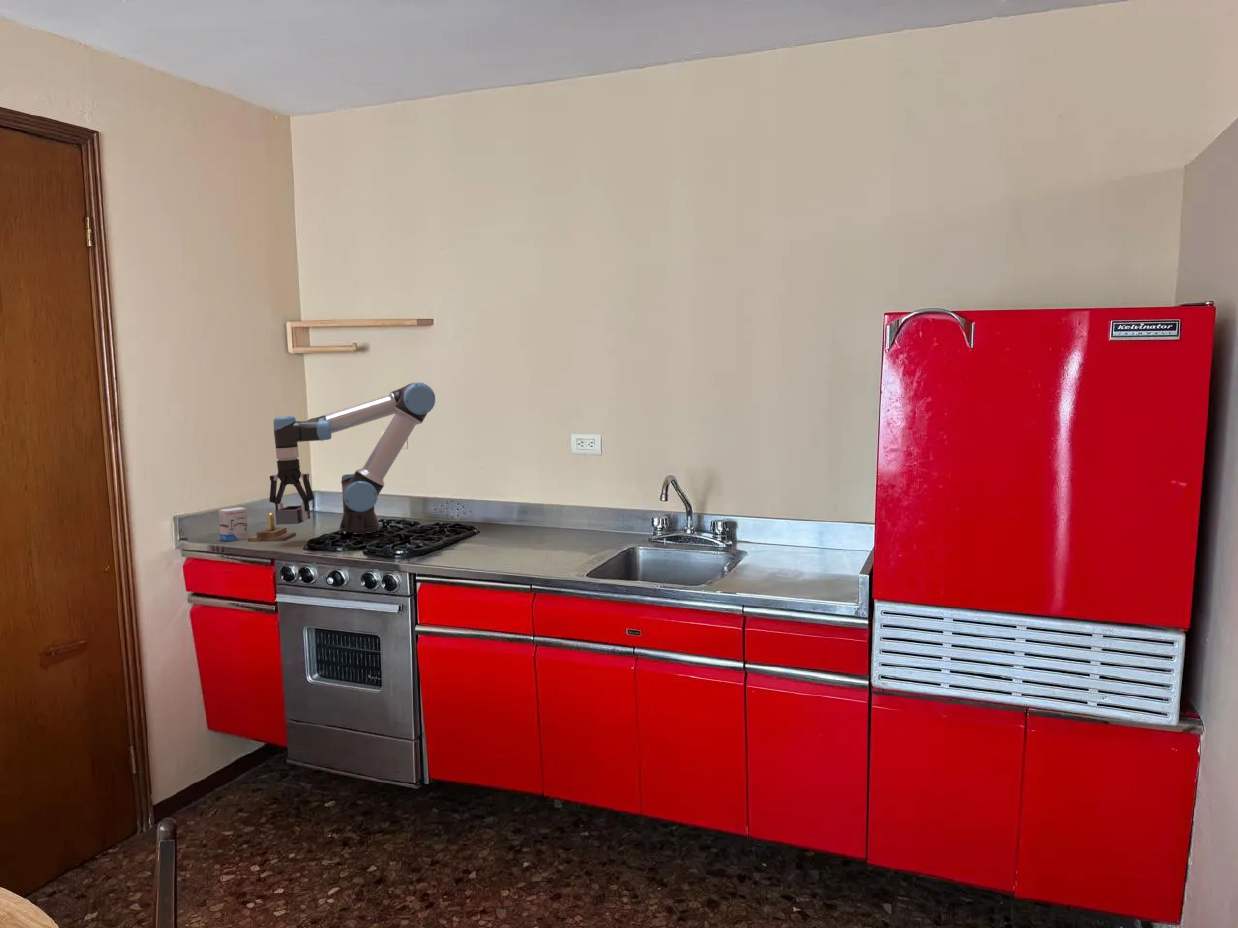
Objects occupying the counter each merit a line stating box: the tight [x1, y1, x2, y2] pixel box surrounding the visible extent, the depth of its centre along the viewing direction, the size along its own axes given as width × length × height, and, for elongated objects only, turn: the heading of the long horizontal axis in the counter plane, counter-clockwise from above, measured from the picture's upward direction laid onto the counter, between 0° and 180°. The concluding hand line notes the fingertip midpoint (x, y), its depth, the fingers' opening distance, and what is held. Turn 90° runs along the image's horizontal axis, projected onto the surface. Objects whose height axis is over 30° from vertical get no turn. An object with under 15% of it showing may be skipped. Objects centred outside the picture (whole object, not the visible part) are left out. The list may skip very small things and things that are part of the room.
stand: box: [247, 527, 297, 542], centre depth 310 cm, size 14×10×3 cm
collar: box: [274, 505, 311, 526], centre depth 299 cm, size 8×11×5 cm
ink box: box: [218, 506, 249, 543], centre depth 309 cm, size 9×5×12 cm, turn 143°
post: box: [266, 512, 276, 531], centre depth 310 cm, size 2×3×6 cm
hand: (293, 520), depth 299 cm, fingers closed on collar, 8 cm apart
